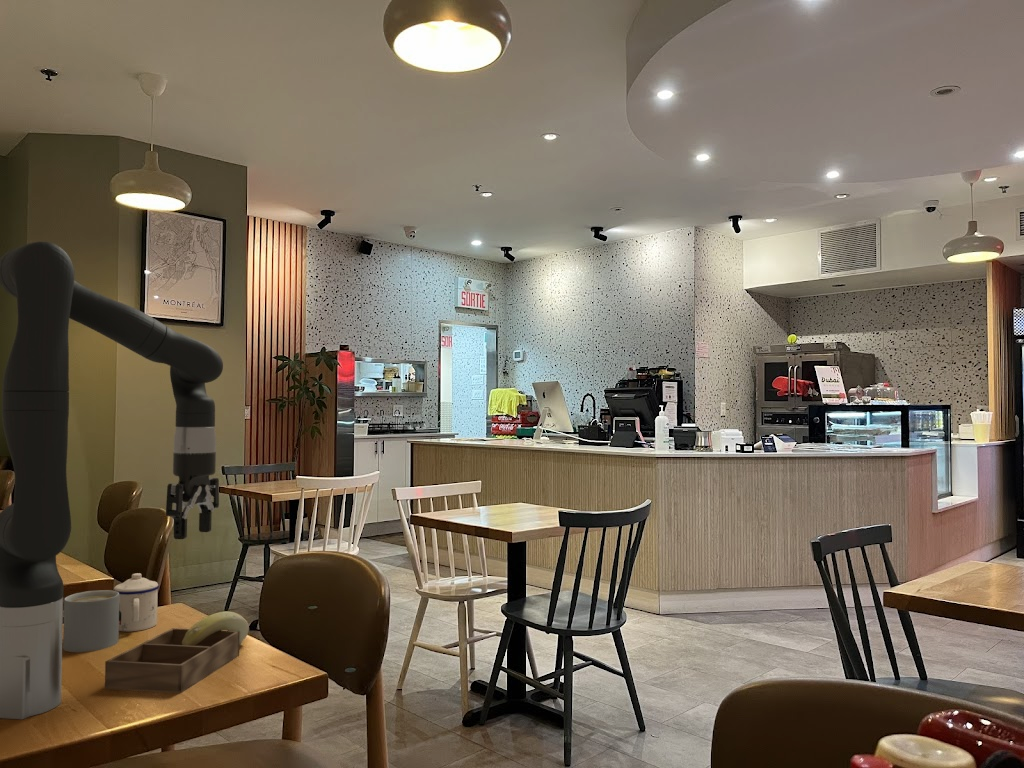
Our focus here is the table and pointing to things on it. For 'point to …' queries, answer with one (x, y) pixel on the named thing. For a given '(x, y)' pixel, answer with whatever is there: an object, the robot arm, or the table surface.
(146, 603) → the teacup with lid
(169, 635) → the walnut crate
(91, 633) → the coffee mug
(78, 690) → the table surface
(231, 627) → the fruit
